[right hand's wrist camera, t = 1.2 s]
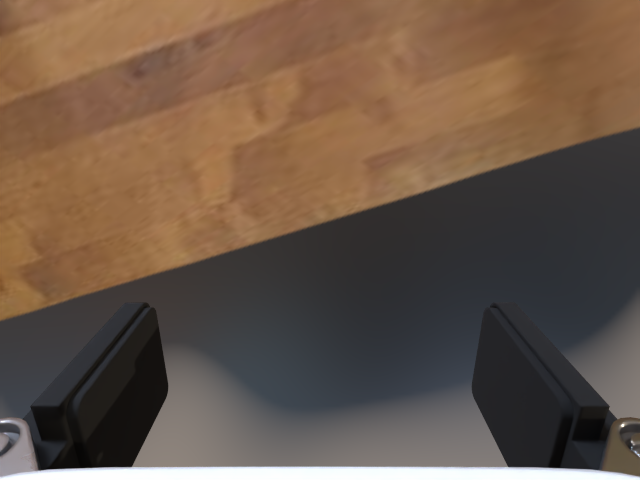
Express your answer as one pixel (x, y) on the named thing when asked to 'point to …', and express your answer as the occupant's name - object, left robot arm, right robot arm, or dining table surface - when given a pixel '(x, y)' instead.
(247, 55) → the dining table surface
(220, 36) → the dining table surface
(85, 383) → the right robot arm
